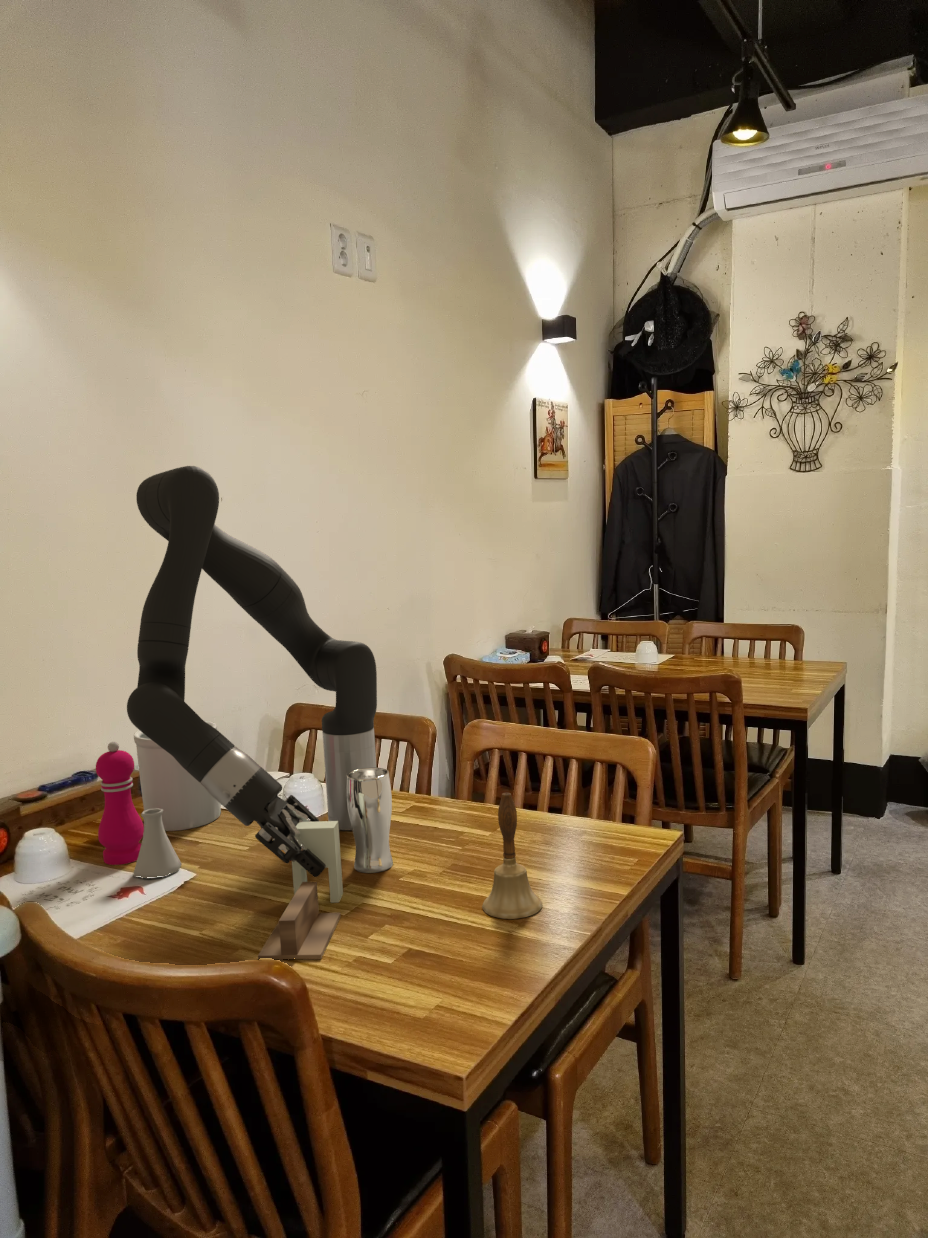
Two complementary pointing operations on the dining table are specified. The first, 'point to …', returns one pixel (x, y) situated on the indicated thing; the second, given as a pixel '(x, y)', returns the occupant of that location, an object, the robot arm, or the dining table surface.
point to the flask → (155, 848)
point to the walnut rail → (301, 928)
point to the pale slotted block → (321, 854)
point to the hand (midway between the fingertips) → (327, 862)
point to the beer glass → (370, 818)
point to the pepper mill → (118, 808)
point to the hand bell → (510, 873)
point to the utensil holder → (172, 788)
